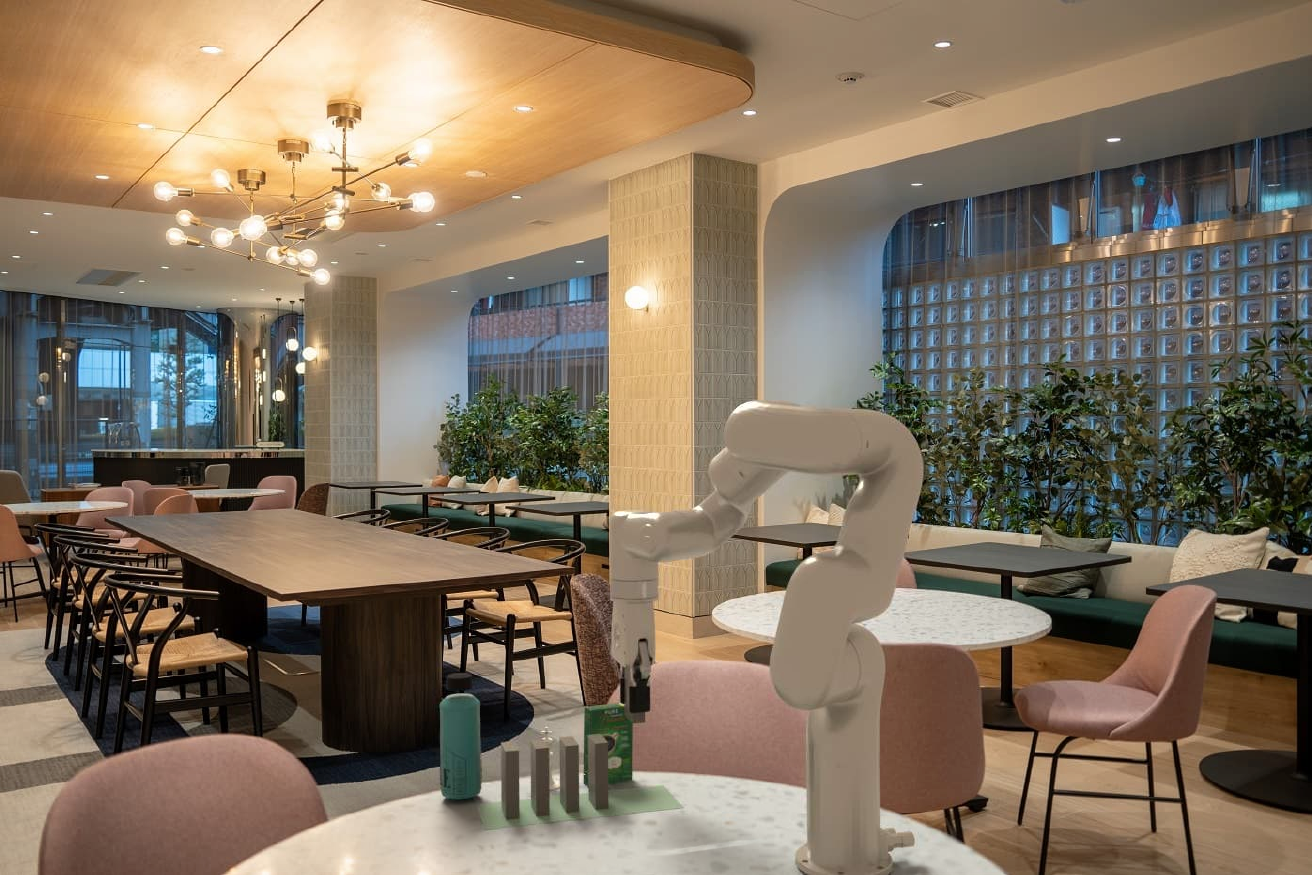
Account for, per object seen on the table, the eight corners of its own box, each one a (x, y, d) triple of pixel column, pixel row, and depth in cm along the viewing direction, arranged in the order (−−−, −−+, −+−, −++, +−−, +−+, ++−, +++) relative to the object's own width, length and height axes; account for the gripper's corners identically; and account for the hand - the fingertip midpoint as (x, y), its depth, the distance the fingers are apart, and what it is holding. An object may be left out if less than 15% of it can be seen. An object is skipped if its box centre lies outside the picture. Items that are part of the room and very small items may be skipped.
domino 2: (543, 803, 159) (543, 738, 159) (549, 814, 154) (549, 747, 154) (530, 805, 158) (530, 739, 159) (536, 816, 154) (535, 748, 154)
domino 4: (601, 797, 162) (600, 733, 162) (608, 808, 157) (607, 742, 157) (588, 799, 161) (588, 734, 161) (595, 810, 156) (595, 743, 156)
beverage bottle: (490, 799, 163) (489, 672, 163) (461, 812, 157) (460, 680, 158) (459, 792, 167) (459, 668, 167) (430, 804, 161) (429, 675, 161)
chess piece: (557, 795, 165) (556, 732, 165) (527, 793, 166) (527, 730, 166) (566, 785, 170) (565, 724, 170) (537, 783, 171) (536, 722, 171)
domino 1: (514, 807, 158) (514, 741, 158) (519, 818, 153) (519, 750, 153) (501, 808, 157) (501, 742, 157) (506, 819, 152) (505, 751, 153)
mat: (663, 788, 167) (663, 785, 167) (683, 811, 157) (683, 807, 157) (476, 808, 159) (476, 804, 159) (484, 833, 149) (484, 829, 149)
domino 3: (572, 800, 160) (572, 736, 160) (579, 811, 155) (578, 745, 156) (559, 802, 160) (559, 737, 160) (566, 813, 155) (565, 746, 155)
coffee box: (626, 778, 173) (625, 699, 173) (634, 783, 170) (633, 703, 170) (582, 786, 169) (582, 706, 169) (590, 791, 166) (589, 709, 166)
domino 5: (636, 714, 163) (636, 650, 163) (645, 722, 159) (644, 656, 159) (624, 715, 163) (624, 651, 163) (632, 723, 158) (632, 657, 158)
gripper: (598, 584, 168) (599, 696, 168) (624, 598, 152) (625, 723, 151) (643, 582, 170) (643, 693, 170) (673, 596, 154) (674, 719, 154)
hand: (634, 706), depth 161 cm, fingers closed on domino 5, 4 cm apart
